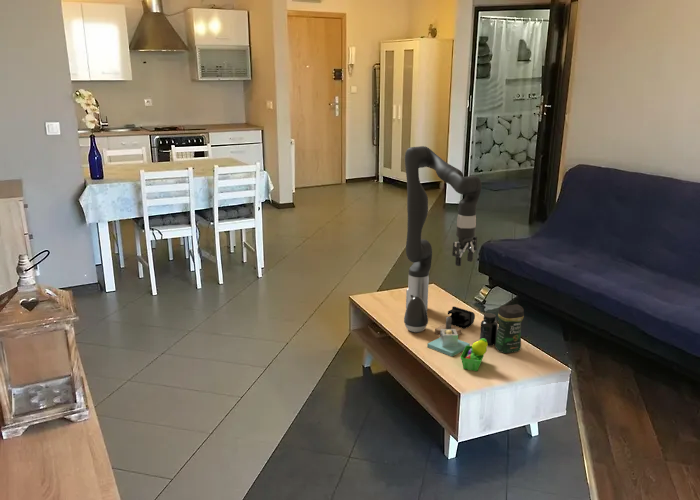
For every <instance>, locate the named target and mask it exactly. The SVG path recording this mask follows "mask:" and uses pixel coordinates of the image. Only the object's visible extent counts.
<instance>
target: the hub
mask: <svg viewBox="0 0 700 500" xmlns="http://www.w3.org/2000/svg"><path fill="white" fill-rule="evenodd" d="M446 334H452V331H451V330H447V331H446ZM426 346H427V348H429V349H432V350H434V351H437V352H439V353H441V354H444V355H446V356H450V357H454V356H456V355H458V354H460V353H461V352H462V353H463V351H464V349H465V347H466V346H471V343H468V342H466V341H463V340H460V339H458V347H442V345H441V342H440V337H438V338H436V339H434V340H432V341H430V342H428V343H427V345H426Z"/></svg>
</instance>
